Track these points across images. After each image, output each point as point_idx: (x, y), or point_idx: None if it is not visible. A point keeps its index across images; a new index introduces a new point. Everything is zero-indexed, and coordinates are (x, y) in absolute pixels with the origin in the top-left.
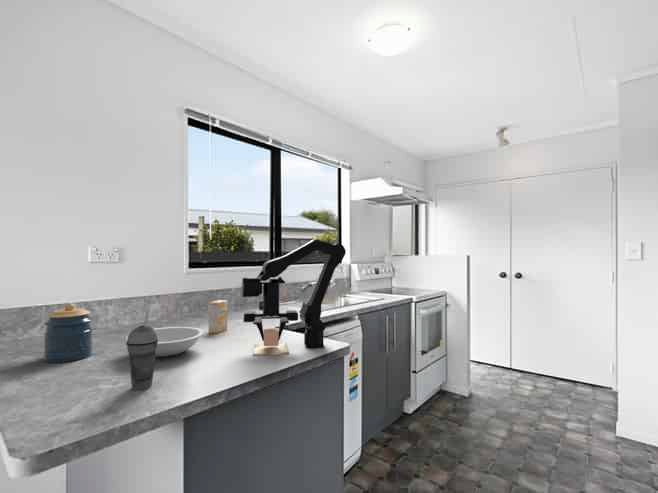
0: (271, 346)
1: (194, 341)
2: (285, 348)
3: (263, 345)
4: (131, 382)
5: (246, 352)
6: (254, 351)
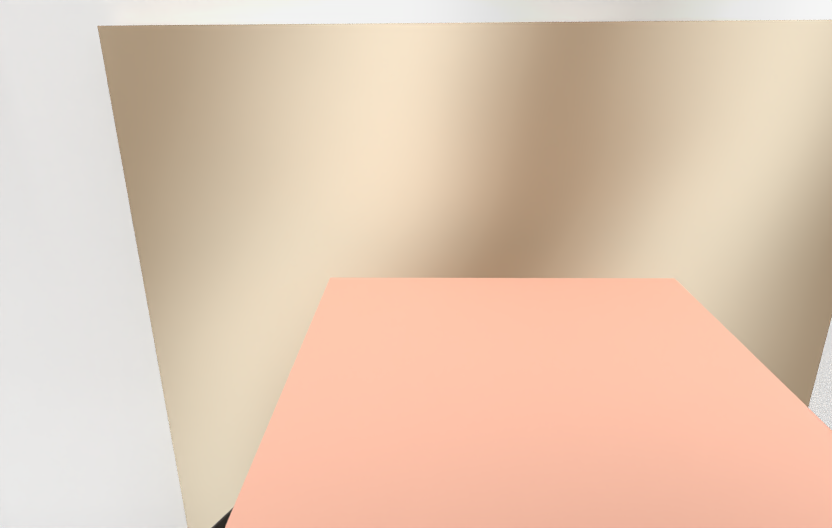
0: (505, 255)
1: None
2: None
3: (332, 153)
4: None
5: (76, 427)
6: (206, 511)
